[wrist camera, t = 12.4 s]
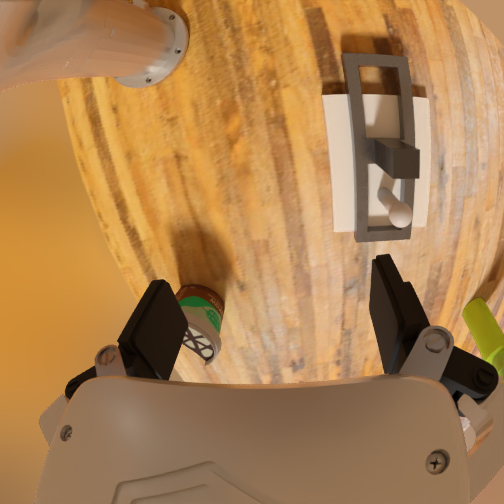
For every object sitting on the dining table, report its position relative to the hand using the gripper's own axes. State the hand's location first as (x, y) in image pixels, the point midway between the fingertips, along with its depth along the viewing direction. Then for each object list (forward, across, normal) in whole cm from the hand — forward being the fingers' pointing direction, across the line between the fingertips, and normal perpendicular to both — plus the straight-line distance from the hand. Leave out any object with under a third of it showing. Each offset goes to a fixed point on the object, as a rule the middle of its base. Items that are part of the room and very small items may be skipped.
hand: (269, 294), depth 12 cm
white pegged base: (+25, -13, +2) cm, 28 cm away
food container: (+25, +16, +21) cm, 37 cm away
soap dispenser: (+24, -36, +32) cm, 53 cm away
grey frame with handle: (+24, -13, 0) cm, 27 cm away
